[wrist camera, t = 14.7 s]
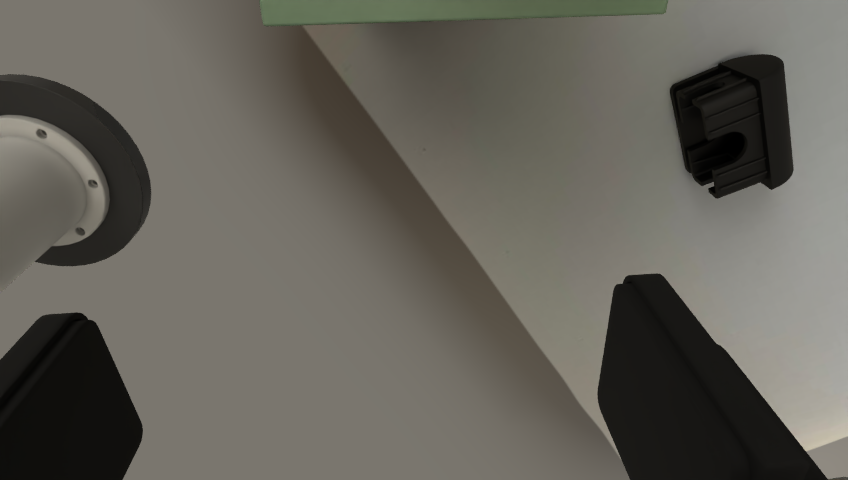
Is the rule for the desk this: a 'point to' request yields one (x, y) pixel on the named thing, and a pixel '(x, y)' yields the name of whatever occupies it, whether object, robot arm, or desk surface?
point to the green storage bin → (443, 10)
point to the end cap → (735, 124)
